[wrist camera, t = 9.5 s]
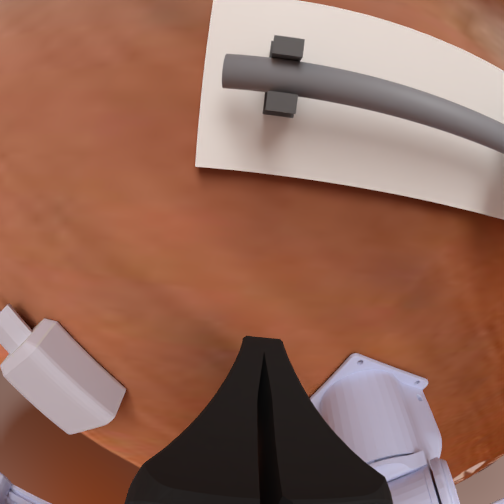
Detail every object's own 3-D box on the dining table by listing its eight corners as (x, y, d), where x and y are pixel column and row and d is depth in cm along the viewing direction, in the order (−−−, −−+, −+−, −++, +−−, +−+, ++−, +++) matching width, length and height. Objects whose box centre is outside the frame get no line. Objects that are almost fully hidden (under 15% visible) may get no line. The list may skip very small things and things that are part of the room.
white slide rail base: (574, 123, 14) (619, 136, 9) (552, 231, 18) (592, 260, 13) (216, -1, 14) (198, -41, 9) (198, 163, 18) (172, 186, 13)
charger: (15, 261, 22) (129, 384, 26) (-16, 305, 24) (80, 404, 29) (-19, 290, 17) (113, 423, 22) (-41, 330, 20) (64, 436, 25)
